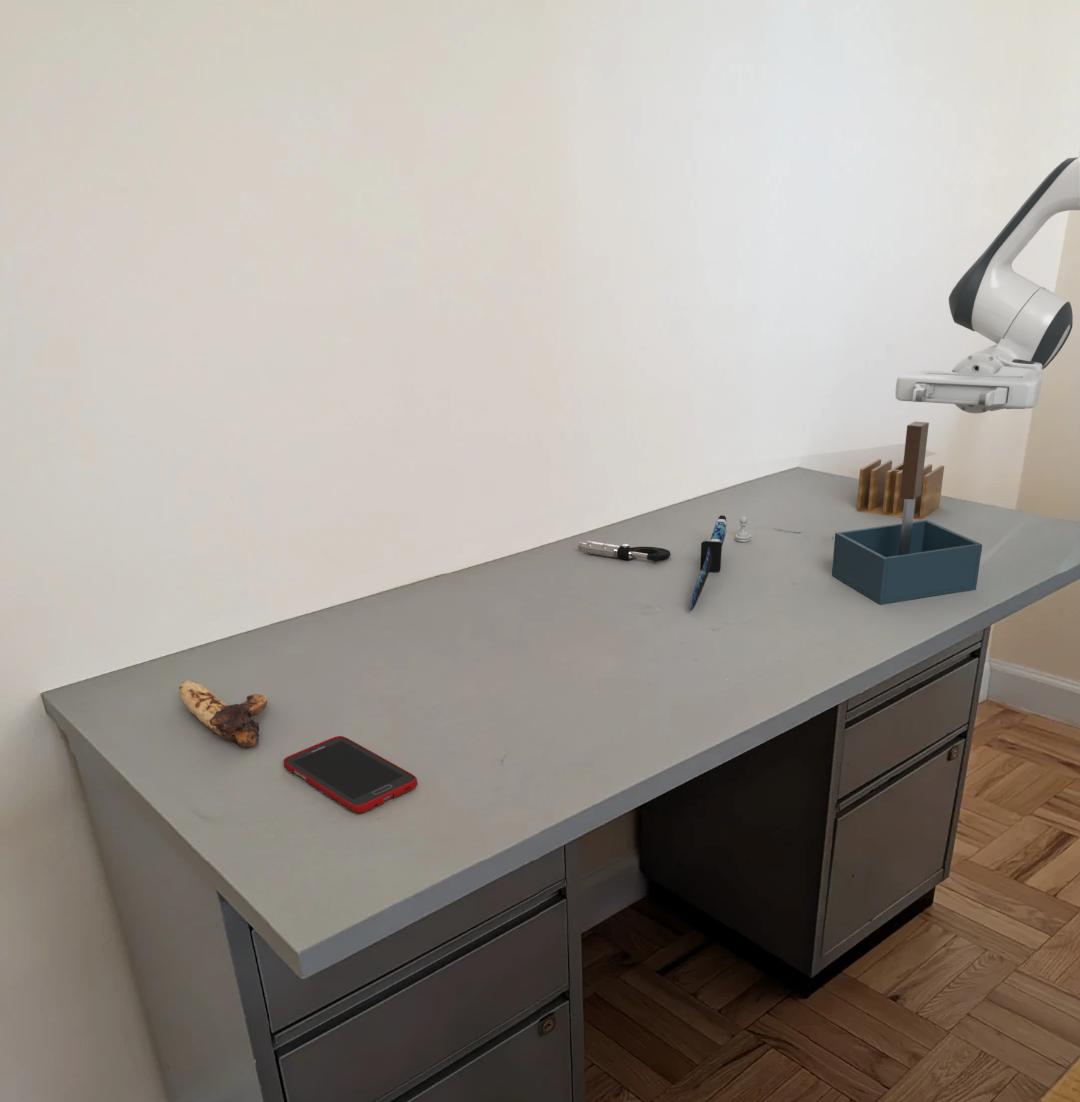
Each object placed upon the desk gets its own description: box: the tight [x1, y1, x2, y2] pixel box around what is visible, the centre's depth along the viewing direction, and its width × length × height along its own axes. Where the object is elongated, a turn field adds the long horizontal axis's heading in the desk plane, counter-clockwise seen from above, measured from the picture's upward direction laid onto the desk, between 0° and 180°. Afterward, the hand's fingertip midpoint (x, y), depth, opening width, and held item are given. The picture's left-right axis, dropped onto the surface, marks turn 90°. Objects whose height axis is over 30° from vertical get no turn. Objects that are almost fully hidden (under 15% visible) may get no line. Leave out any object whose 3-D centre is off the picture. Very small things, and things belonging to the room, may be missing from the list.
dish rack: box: [852, 458, 945, 521], centre depth 179 cm, size 12×10×8 cm
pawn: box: [734, 515, 752, 543], centre depth 172 cm, size 3×3×4 cm
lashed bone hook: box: [178, 680, 268, 748], centre depth 121 cm, size 9×5×18 cm
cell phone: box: [282, 735, 418, 814], centre depth 108 cm, size 8×15×1 cm, turn 43°
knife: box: [689, 514, 728, 612], centre depth 156 cm, size 31×3×4 cm, turn 159°
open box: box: [831, 519, 983, 605], centre depth 149 cm, size 15×13×7 cm
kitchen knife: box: [898, 421, 930, 555], centre depth 146 cm, size 2×3×22 cm, turn 142°
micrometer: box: [577, 540, 671, 562], centre depth 169 cm, size 15×7×2 cm, turn 55°
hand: (949, 398), depth 150 cm, fingers open, 8 cm apart
